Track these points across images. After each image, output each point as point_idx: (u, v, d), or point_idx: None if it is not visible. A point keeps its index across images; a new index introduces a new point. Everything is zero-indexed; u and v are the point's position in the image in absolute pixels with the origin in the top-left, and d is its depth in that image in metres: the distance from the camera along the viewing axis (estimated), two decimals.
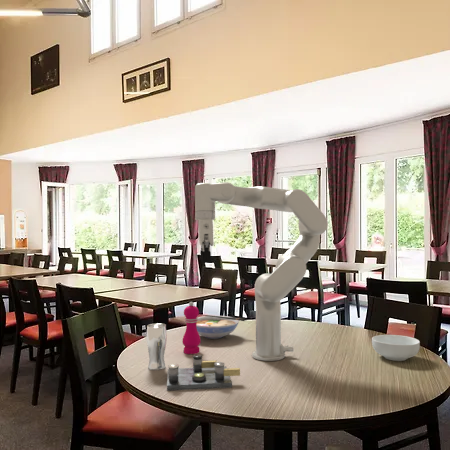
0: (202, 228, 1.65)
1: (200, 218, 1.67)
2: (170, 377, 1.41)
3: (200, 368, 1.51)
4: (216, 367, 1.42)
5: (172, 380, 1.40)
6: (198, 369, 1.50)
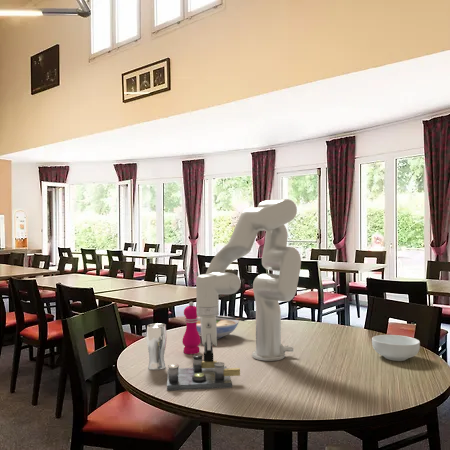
0: (204, 327, 1.49)
1: (202, 315, 1.51)
2: (170, 377, 1.41)
3: (200, 368, 1.51)
4: (216, 367, 1.42)
5: (172, 380, 1.40)
6: (198, 369, 1.50)
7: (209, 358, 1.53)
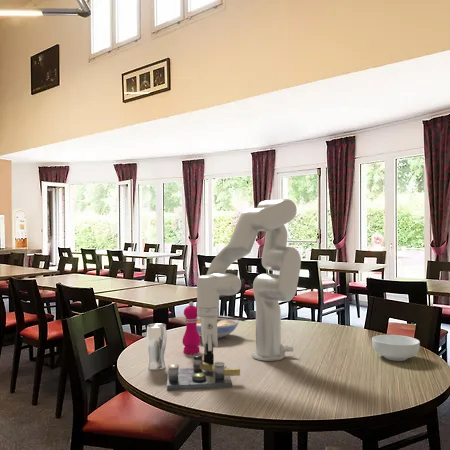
0: (205, 328, 1.49)
1: (203, 316, 1.51)
2: (170, 377, 1.41)
3: (197, 368, 1.50)
4: (216, 367, 1.42)
5: (172, 380, 1.40)
6: (195, 369, 1.50)
7: (209, 359, 1.53)
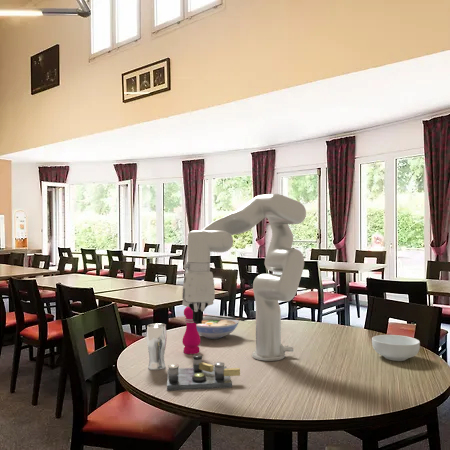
0: None
1: None
2: (170, 377, 1.41)
3: (197, 368, 1.50)
4: (216, 367, 1.42)
5: (172, 380, 1.40)
6: (195, 369, 1.50)
7: (194, 316, 1.49)
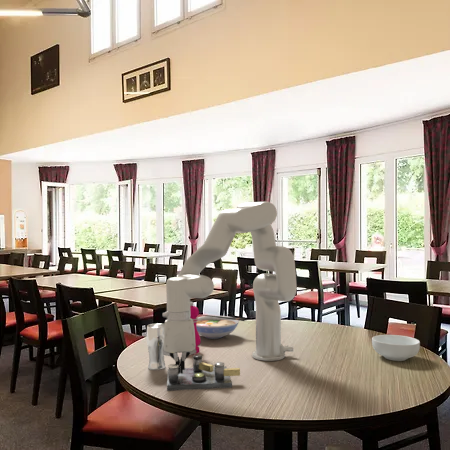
0: None
1: None
2: (170, 377, 1.41)
3: (197, 368, 1.50)
4: (216, 367, 1.42)
5: (172, 380, 1.40)
6: (195, 369, 1.50)
7: None
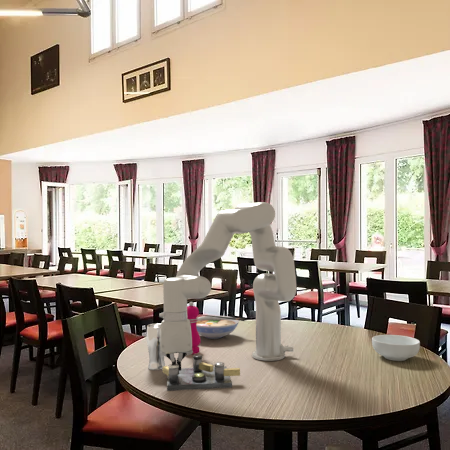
0: None
1: None
2: (172, 377, 1.40)
3: (197, 368, 1.50)
4: (216, 367, 1.42)
5: (174, 380, 1.40)
6: (195, 369, 1.50)
7: None
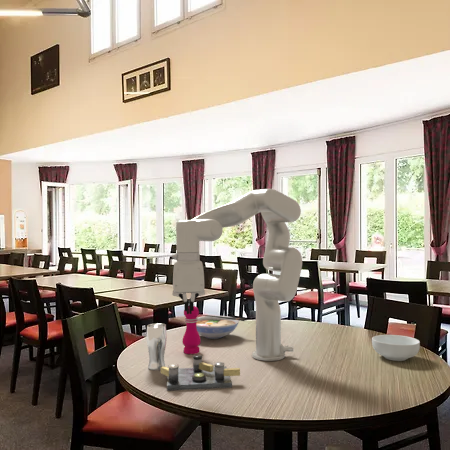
0: None
1: None
2: (172, 377, 1.40)
3: (197, 368, 1.50)
4: (216, 367, 1.42)
5: (175, 380, 1.40)
6: (195, 369, 1.50)
7: (184, 306, 1.48)
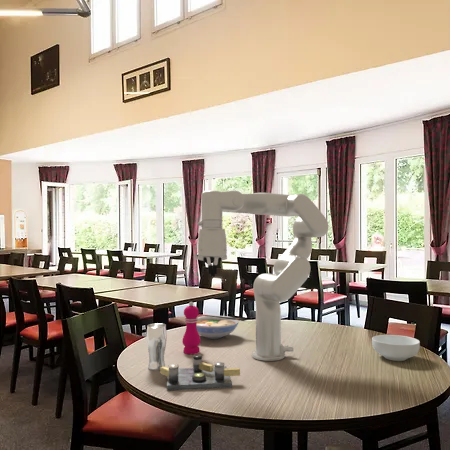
0: None
1: None
2: (173, 377, 1.40)
3: (197, 368, 1.50)
4: (216, 367, 1.42)
5: (175, 380, 1.40)
6: (195, 369, 1.50)
7: (208, 269, 1.62)
